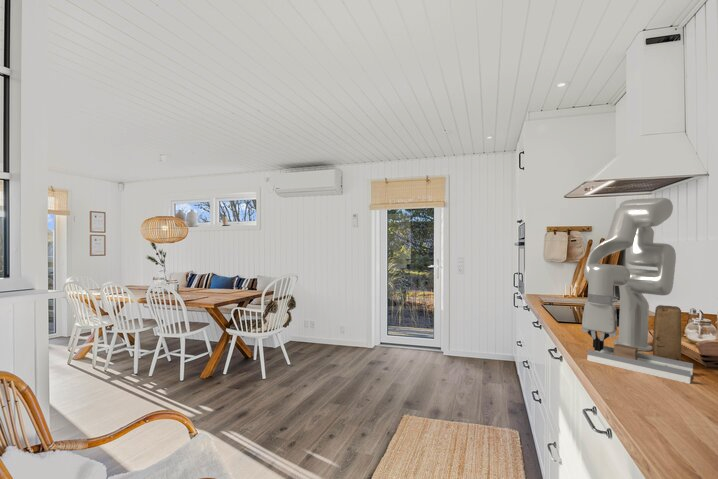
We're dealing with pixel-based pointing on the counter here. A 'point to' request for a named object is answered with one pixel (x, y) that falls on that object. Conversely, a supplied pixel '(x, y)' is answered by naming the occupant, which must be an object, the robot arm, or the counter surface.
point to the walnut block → (626, 351)
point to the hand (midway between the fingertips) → (598, 350)
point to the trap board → (645, 364)
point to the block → (667, 332)
